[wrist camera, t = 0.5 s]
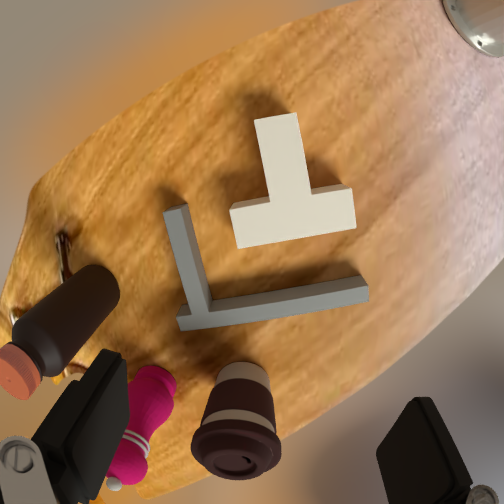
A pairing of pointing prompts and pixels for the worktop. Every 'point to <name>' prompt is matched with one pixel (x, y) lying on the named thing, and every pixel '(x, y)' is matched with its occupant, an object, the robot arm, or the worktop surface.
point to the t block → (289, 192)
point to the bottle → (56, 329)
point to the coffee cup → (238, 425)
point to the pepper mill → (141, 424)
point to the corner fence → (249, 306)
